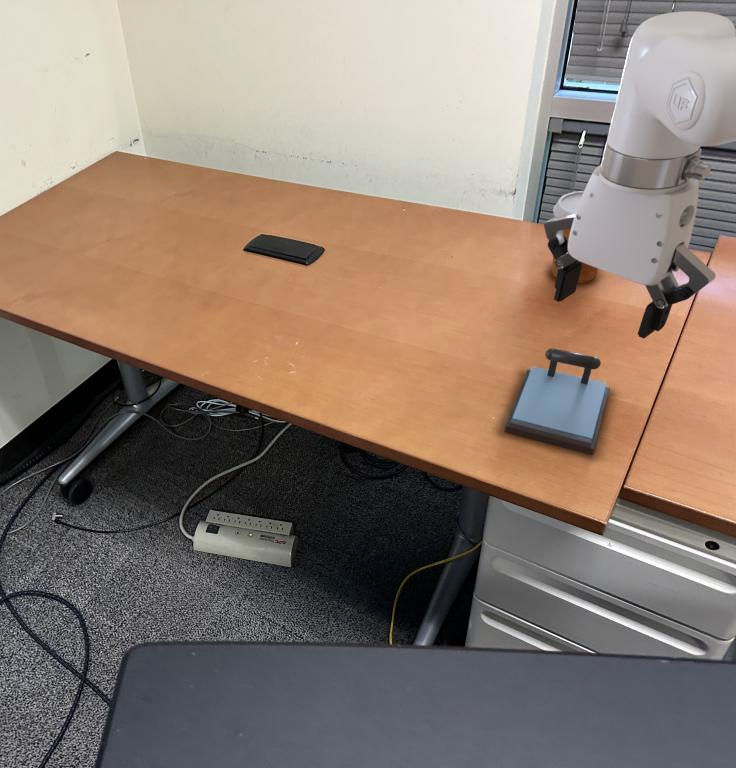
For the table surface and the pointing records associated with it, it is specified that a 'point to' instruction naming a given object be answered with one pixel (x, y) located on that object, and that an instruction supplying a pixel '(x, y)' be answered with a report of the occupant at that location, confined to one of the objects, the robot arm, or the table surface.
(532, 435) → the dark rectangular box base
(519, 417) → the handled blue panel
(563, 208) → the disposable coffee cup
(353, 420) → the table surface
